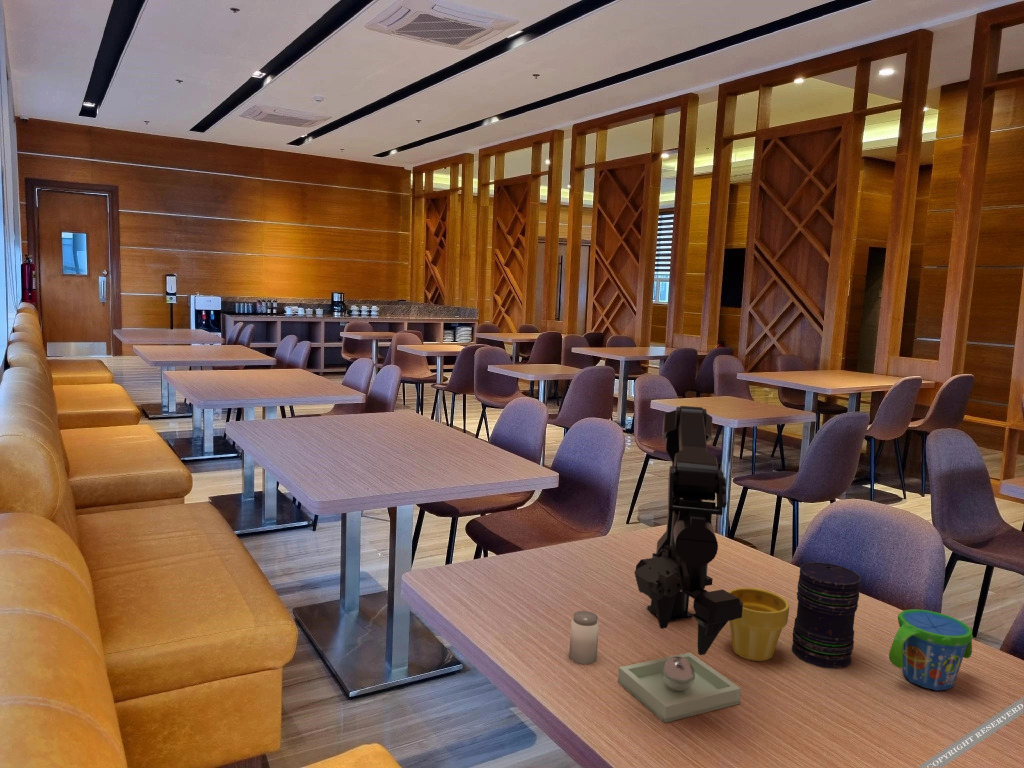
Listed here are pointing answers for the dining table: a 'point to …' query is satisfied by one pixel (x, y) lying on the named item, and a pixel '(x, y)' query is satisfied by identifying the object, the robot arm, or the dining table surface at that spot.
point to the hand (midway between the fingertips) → (681, 640)
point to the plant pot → (758, 623)
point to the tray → (675, 705)
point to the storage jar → (825, 615)
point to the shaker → (584, 637)
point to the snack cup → (930, 648)
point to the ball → (678, 673)
